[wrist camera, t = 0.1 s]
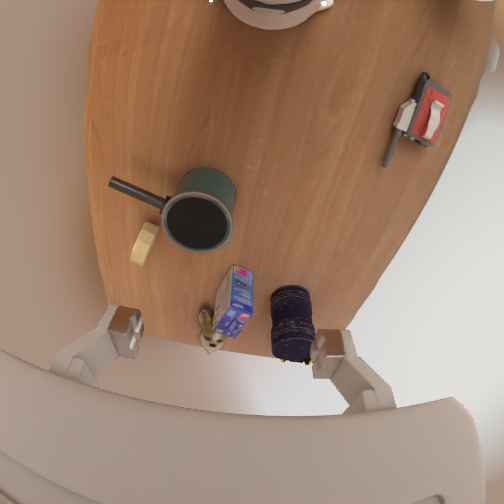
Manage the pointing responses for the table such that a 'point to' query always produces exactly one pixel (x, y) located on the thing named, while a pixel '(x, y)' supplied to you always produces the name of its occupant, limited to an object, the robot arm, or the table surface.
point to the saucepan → (193, 209)
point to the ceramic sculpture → (209, 332)
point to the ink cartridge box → (233, 302)
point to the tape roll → (144, 243)
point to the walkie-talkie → (421, 115)
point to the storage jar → (291, 323)
